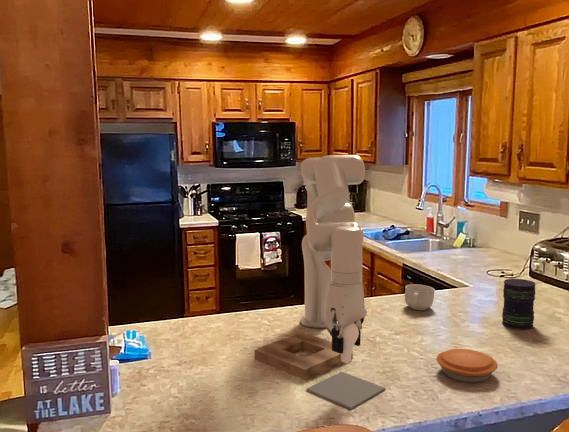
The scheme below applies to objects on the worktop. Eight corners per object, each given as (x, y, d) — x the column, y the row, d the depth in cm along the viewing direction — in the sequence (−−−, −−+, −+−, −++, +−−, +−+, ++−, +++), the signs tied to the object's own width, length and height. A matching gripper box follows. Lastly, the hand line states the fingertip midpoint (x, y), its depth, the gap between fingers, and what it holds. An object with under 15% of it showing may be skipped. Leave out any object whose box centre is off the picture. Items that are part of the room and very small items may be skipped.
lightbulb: (344, 356, 135) (344, 314, 133) (363, 363, 130) (363, 320, 129) (328, 363, 130) (328, 320, 129) (348, 370, 126) (348, 326, 125)
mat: (341, 373, 141) (341, 371, 141) (385, 389, 131) (385, 387, 131) (306, 390, 131) (306, 388, 131) (350, 409, 122) (351, 407, 122)
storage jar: (525, 332, 171) (527, 287, 169) (496, 325, 178) (498, 282, 176) (538, 325, 177) (541, 282, 175) (510, 318, 185) (512, 277, 183)
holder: (301, 341, 165) (301, 331, 165) (352, 358, 151) (352, 348, 151) (254, 359, 151) (254, 349, 151) (305, 380, 137) (305, 369, 137)
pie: (429, 362, 148) (430, 345, 148) (484, 362, 148) (485, 345, 147) (444, 386, 133) (445, 367, 132) (506, 387, 133) (507, 368, 132)
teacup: (411, 302, 205) (411, 282, 204) (438, 306, 199) (439, 286, 198) (396, 311, 194) (396, 290, 193) (424, 316, 188) (425, 294, 187)
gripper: (355, 269, 136) (355, 335, 139) (311, 281, 124) (311, 354, 127) (379, 273, 131) (379, 342, 133) (335, 286, 119) (335, 362, 121)
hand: (346, 347), depth 130 cm, fingers closed on lightbulb, 6 cm apart
